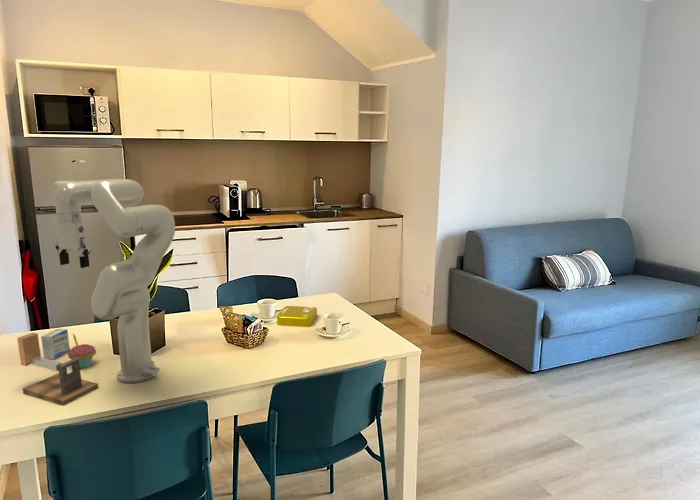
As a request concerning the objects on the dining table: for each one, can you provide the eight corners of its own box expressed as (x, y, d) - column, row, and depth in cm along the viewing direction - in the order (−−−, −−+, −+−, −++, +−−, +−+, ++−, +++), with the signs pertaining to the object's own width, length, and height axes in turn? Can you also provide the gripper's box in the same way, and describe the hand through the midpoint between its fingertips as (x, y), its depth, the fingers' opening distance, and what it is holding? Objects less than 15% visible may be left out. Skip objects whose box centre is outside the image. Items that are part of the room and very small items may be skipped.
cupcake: (69, 372, 172) (65, 338, 169) (69, 362, 179) (65, 330, 177) (97, 367, 176) (94, 334, 173) (96, 357, 183) (93, 326, 181)
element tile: (285, 314, 231) (285, 304, 230) (318, 316, 228) (318, 306, 227) (275, 326, 216) (275, 315, 215) (310, 328, 214) (310, 317, 213)
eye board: (98, 387, 161) (94, 357, 159) (63, 405, 150) (59, 372, 148) (59, 377, 168) (55, 347, 166) (23, 393, 157) (18, 361, 155)
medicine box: (54, 359, 181) (51, 336, 180) (43, 358, 182) (40, 335, 181) (70, 351, 189) (67, 328, 187) (60, 350, 190) (57, 328, 188)
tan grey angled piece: (67, 366, 160) (63, 339, 158) (52, 373, 155) (48, 345, 153) (36, 358, 166) (32, 332, 164) (21, 364, 161) (17, 337, 159)
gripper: (97, 217, 175) (102, 265, 179) (61, 214, 182) (66, 261, 185) (78, 220, 169) (83, 270, 172) (41, 217, 175) (47, 265, 179)
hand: (74, 265), depth 179 cm, fingers open, 9 cm apart
